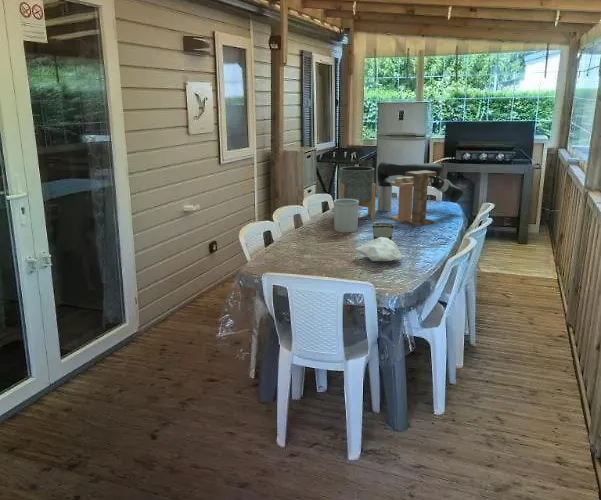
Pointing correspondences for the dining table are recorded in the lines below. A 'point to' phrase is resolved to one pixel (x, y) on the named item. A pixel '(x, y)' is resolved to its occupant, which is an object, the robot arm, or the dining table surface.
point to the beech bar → (406, 179)
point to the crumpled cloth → (380, 250)
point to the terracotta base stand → (404, 201)
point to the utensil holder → (346, 215)
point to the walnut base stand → (419, 197)
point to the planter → (358, 187)
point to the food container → (382, 230)
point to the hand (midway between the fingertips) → (423, 173)
